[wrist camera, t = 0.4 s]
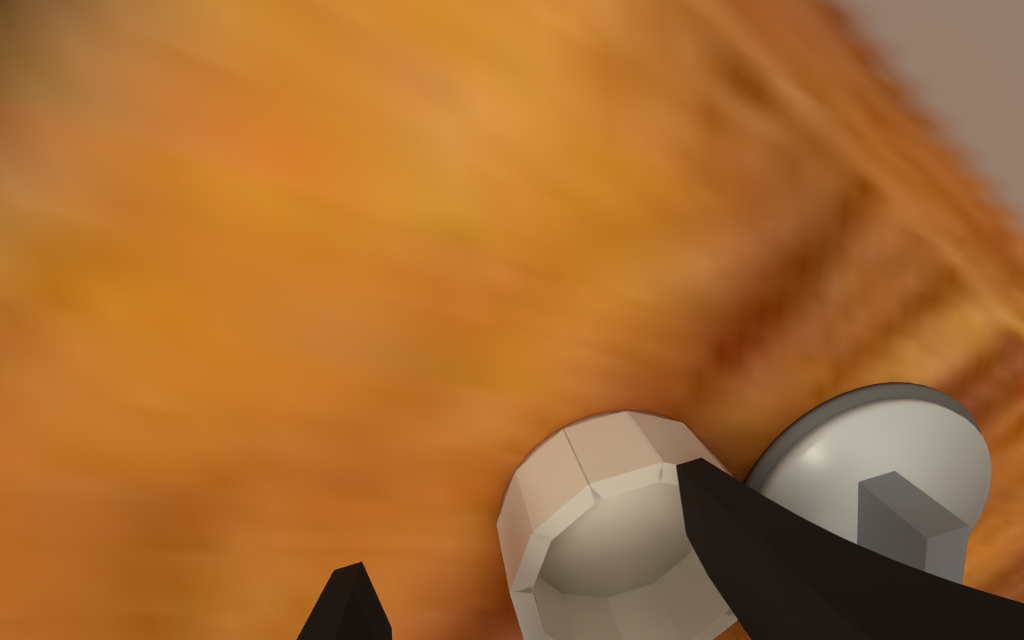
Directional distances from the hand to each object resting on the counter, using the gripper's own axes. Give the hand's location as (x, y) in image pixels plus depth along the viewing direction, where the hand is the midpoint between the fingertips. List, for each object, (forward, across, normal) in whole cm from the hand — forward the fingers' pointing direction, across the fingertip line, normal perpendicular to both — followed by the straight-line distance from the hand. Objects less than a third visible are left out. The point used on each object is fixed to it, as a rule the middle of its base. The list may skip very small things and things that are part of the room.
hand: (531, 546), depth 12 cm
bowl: (+10, -4, +8) cm, 13 cm away
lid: (+9, -16, +13) cm, 22 cm away
